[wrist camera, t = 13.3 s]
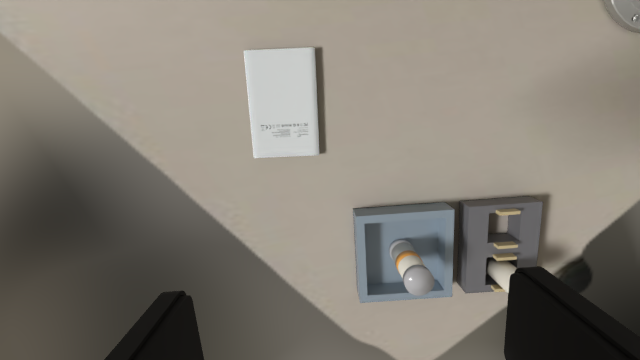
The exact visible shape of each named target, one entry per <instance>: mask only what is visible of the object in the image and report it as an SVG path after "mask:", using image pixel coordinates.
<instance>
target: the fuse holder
mask: <svg viewBox="0 0 640 360" xmlns="http://www.w3.org/2000/svg"><path fill="white" fill-rule="evenodd" d="M542 205H543V202H542V201H540V200H537V199H535V198H533V197H530V196H522V197H508V198H494V199H481V200H467V201H460V213H459V243H458V274H457V283H458V284H459V286H460V287H461V288H462V289H463V291H464V292H465V293H478V292H493V291H495V292H504V291H505V290H504V289H503V288H502V287H501V286H500V285H499V284H498V283H497V282H496V281H495V280H494V279H493V278H492V277H491V276H490V275H489V274H486V259H487V257H493V258H494V259H496V260H497V261H503V260H508V261H509V262H510V263H511V264H513V265H514V266H515V267H516V268H522V267H536V266H537V256H538V246H539V236H540V225H541V215H542ZM489 213H497V214H498V215H500V216H502V215H509V216H508V229H507V233H500V234H488V223H489Z"/></svg>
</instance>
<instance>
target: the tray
mask: <svg viewBox="0 0 640 360" xmlns="http://www.w3.org/2000/svg"><path fill="white" fill-rule="evenodd" d="M353 216H354V235H355V254H356V273H357V290H358V295H359V300H360V303H365V302H380V301H395V300H410V299H425V298H439V297H452V279H453V244H454V209H453V208H452V207H450V206H449V205H448V204H446V203H445V202H439V203H425V204H411V205H397V206H383V207H370V208H356V209H353ZM396 239H406V240H408V241H409V242H410V243H411V244H412V246H413V247H414V250H415V251H416V253H417V254H418V255H419V257H420V258H421V260H422V261H423V263H424V265H425V266H426V267H427V268H428V269H429V271H430V272H431V273H432V275H433V277H434V281H435V282H434V286H433V288H432V290H431V291H430V292H429V293H427V294H425V295H421V296H416V295H413V294H411V293H409V292H408V291H407V289H406V287H405V285H404V283H403V279H402V277H401V275H400V273H399V272H398V270H397V268H396V265H395V263H394V261H393V260H392V258H391V256H390V254H389V246H390V244H391V243H392V242H393V241H394V240H396Z"/></svg>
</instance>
